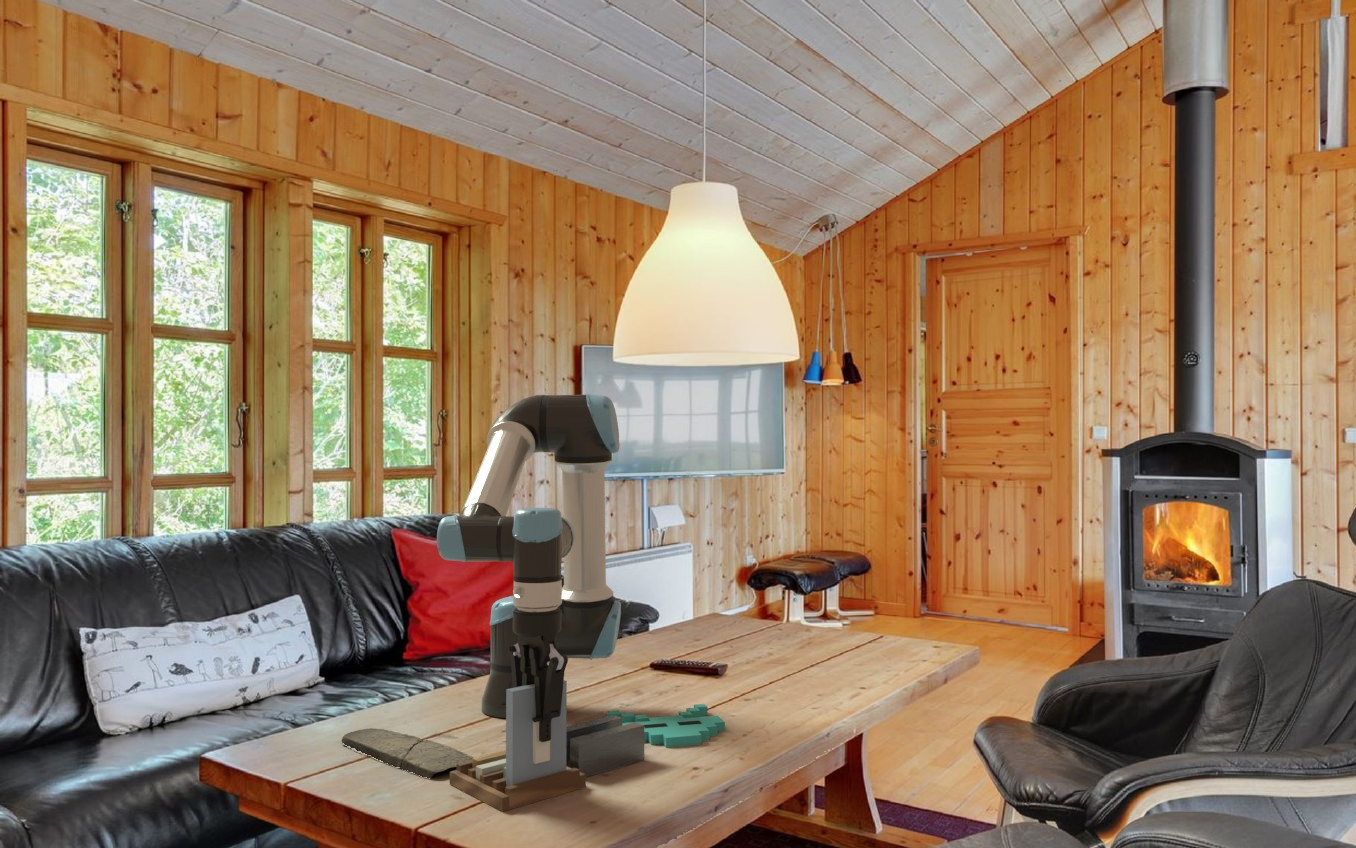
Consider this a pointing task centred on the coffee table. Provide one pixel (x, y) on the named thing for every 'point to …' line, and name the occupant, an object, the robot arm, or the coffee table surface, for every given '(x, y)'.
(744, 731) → the coffee table surface
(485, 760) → the offcut
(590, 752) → the holder
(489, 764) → the offcut
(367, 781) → the coffee table surface
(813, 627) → the coffee table surface
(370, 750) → the stone slab
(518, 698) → the tall sheet
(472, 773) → the rack
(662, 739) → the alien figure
